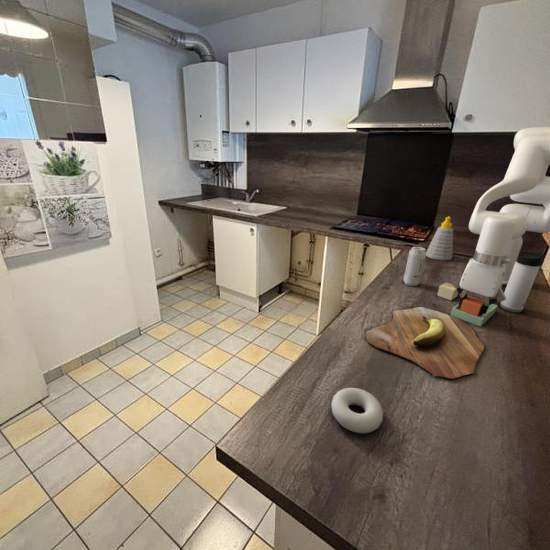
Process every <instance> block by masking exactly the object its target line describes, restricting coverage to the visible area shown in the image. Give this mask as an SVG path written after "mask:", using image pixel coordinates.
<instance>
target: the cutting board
mask: <svg viewBox="0 0 550 550" xmlns="http://www.w3.org/2000/svg"><path fill="white" fill-rule="evenodd" d="M392 317H393V318H392V319H391V320H389V321H387V322H385V323H383V324H380V325H378V326H375V327H371V328H369V329H367V330H366V332H365V339H366V341H367V342H368V343H369V344H371V345H372V346H374V347H376V348H377V349H382V350H384V351H387V352H390V353H392V354H395V355H398V356H400V357H402V358H404V359H407V360H409V361H411V362H413V363H415V364H416V365H418V366H419V367H421V368H422V369H424V370H426V371H428V372H429V373H430V374H431V375H432V376H433V378H435V377H442V378H447V379H452V380H453V379H456V378H460V377H462V376H463V377H464V376H466V375H470V374H475V368H476V364H477V362H478V360H479V358H480V356H481V355H482V354H483V352H484V349H485V344H484V343H483V342H482V340H480V338H479V337H478V336H477V334H476V332H475V331H474V329H473V328H472V327H471V326H469V325H468V324H467V323H466V321H464V320H462V319H459V318H457V317H454V316H451V315H449V314H447V313H443V312H441V311H438V310H435V309H431V308H426V307H423V306H417V307H411V308H406V309H395V310H393V311H392Z"/></svg>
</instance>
